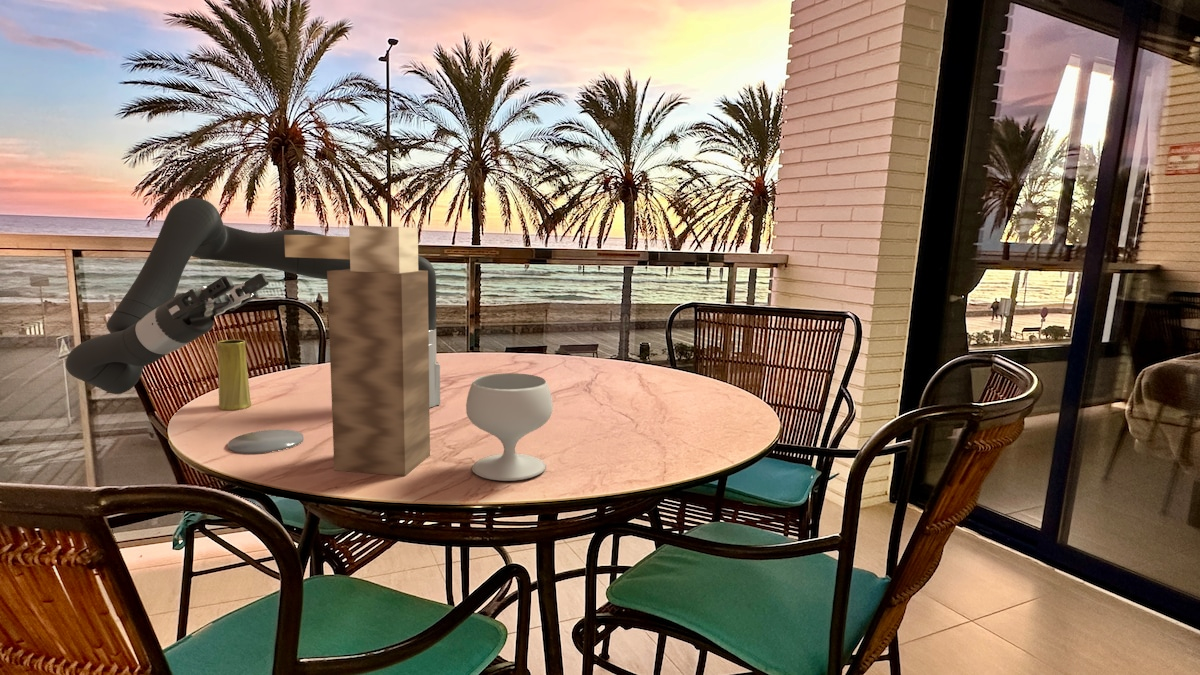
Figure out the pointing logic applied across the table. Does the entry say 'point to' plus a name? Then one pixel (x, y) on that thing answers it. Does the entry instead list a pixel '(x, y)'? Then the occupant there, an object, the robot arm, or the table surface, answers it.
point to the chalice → (509, 421)
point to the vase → (233, 375)
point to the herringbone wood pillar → (379, 370)
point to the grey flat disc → (265, 441)
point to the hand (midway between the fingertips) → (248, 279)
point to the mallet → (362, 248)
